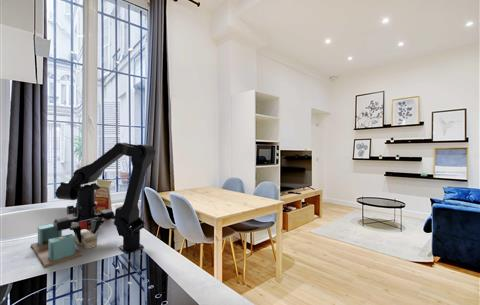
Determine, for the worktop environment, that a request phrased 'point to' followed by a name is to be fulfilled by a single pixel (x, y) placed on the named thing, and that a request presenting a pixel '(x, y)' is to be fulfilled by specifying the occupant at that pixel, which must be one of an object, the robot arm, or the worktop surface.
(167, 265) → the worktop surface
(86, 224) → the canned food
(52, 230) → the cap fixed
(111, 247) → the worktop surface
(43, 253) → the board
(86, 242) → the wooden block
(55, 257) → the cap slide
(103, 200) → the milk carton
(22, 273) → the worktop surface
